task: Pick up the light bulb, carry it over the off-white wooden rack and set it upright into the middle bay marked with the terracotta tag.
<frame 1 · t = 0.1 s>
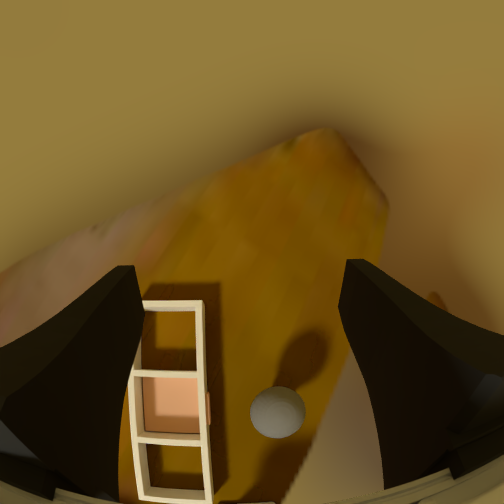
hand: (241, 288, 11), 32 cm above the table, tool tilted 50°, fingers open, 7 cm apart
light bulb: (271, 403, 38), on the table
rack: (171, 405, 37), on the table
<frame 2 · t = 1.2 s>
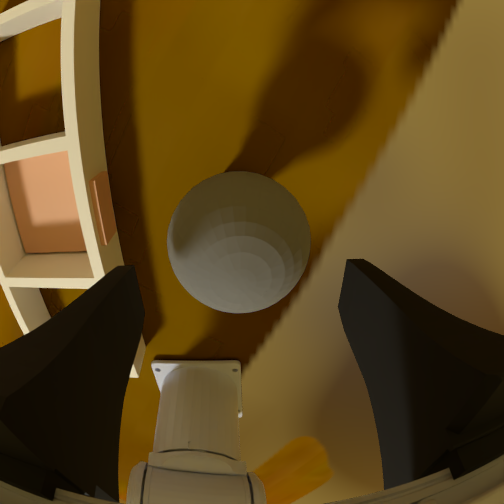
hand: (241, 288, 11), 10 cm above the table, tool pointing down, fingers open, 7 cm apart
light bulb: (236, 189, 20), on the table
rack: (52, 202, 19), on the table
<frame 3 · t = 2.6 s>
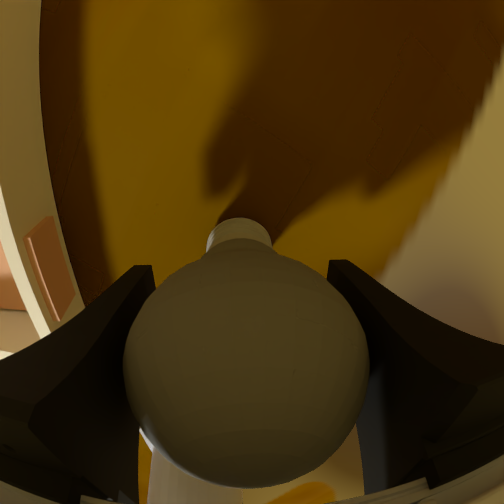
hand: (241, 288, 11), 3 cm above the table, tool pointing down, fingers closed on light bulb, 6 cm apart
light bulb: (238, 238, 14), on the table, touching gripper
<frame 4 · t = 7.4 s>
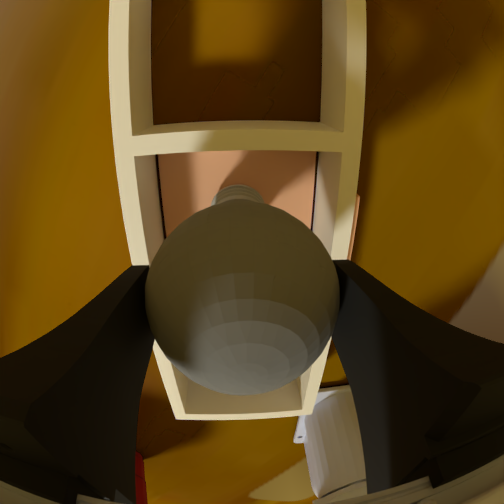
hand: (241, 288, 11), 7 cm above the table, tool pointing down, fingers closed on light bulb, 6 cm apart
light bulb: (237, 203, 16), resting on rack, touching gripper
plastic cup: (119, 450, 30), on the table
rack: (237, 213, 16), on the table
when the fingers open (5 cm above the table, at t = 8.8 s): light bulb stays where it is, resting on rack.
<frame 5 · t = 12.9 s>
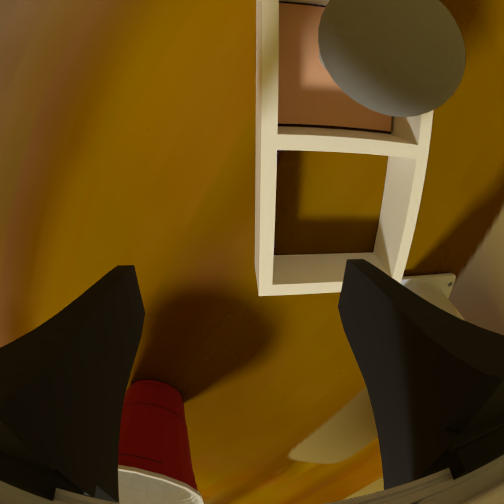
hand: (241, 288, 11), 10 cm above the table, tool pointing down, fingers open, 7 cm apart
light bulb: (337, 56, 16), resting on rack
plastic cup: (154, 392, 30), on the table
rack: (336, 66, 16), on the table
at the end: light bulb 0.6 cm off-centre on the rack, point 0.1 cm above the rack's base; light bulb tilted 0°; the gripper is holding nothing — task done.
